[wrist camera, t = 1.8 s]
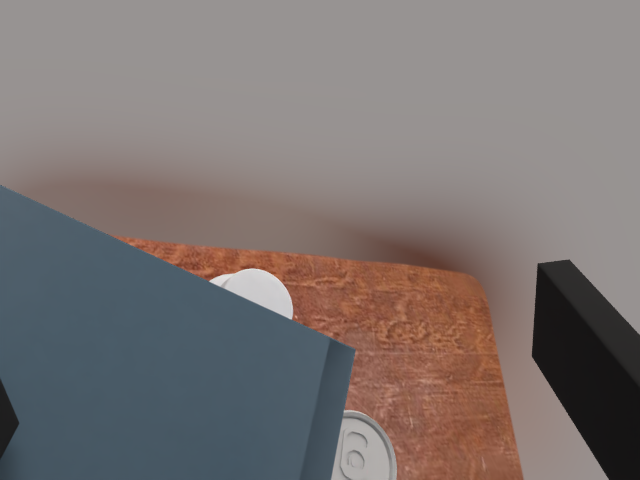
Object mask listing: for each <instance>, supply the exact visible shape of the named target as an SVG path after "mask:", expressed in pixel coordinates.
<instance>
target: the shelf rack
mask: <svg viewBox="0 0 640 480" xmlns="http://www.w3.org/2000/svg"><path fill="white" fill-rule="evenodd" d="M354 356H355V349H354V348H352V347H350V346H348V345H345V344H343V343H341V342H339V341H337V340H335V339H332V338H330V337H328V336H326V335H324V334H322V333H319V332H317V331H315V330H313V329H311V328H309V327H306V326H304V325H302V324H300V323H298V322H296V321H293V320H291V319H289V318H287V317H285V316H283V315H281V314H278V313H276V312H274V311H272V310H270V309H268V308H265V307H263V306H261V305H259V304H257V303H255V302H252V301H250V300H248V299H246V298H244V297H242V296H239V295H237V294H235V293H233V292H231V291H229V290H226V289H224V288H222V287H220V286H218V285H216V284H213V283H211V282H209V281H207V280H205V279H203V278H201V277H198V276H196V275H194V274H192V273H190V272H188V271H185V270H183V269H181V268H179V267H177V266H175V265H172V264H170V263H168V262H166V261H164V260H162V259H159V258H157V257H155V256H153V255H151V254H149V253H146V252H144V251H142V250H140V249H138V248H136V247H134V246H131V245H129V244H127V243H125V242H123V241H121V240H118V239H116V238H114V237H112V236H110V235H108V234H105V233H103V232H101V231H99V230H97V229H94V228H92V227H90V226H88V225H86V224H84V223H82V222H79V221H77V220H75V219H73V218H71V217H69V216H66V215H64V214H62V213H60V212H58V211H55V210H53V209H51V208H49V207H47V206H45V205H43V204H41V203H38V202H36V201H34V200H32V199H30V198H28V197H25V196H23V195H21V194H19V193H17V192H15V191H12V190H10V189H8V188H6V187H4V186H2V185H0V379H1V381H2V383H3V386H4V388H5V390H6V393H7V395H8V397H9V400H10V402H11V404H12V407H13V409H14V411H15V414H16V416H17V418H18V421H19V425H18V427H17V429H16V431H15V433H14V435H13V437H12V439H11V440H10V442H9V444H8V446H7V448H6V450H5V452H4V454H3V456H2V458H1V459H0V480H331V478H332V472H333V467H334V462H335V456H336V451H337V446H338V441H339V435H340V430H341V425H342V419H343V414H344V409H345V403H346V398H347V393H348V388H349V382H350V377H351V372H352V366H353V361H354Z"/></svg>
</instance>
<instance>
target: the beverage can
mask: <svg viewBox="0 0 640 480" xmlns="http://www.w3.org/2000/svg"><path fill="white" fill-rule="evenodd" d="M396 475H397V465H396V457H395V453H394V449H393V447H392V444H391V442H390V440H389V438H388V436H387V435H386V433H385V432H384V430H383V429H382V428H381V427H380V426H379V425H378V423H377V422H376V421H374V420H373V419H372V418H370V417H369V416H367V415H365V414H363V413H361V412H358V411H353V410H344V414H343V419H342V425H341V430H340V435H339V441H338V446H337V451H336V456H335V462H334V467H333V472H332V478H331V480H396Z"/></svg>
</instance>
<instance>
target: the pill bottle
mask: <svg viewBox="0 0 640 480" xmlns="http://www.w3.org/2000/svg"><path fill="white" fill-rule="evenodd" d="M209 282H211V283H213V284H216V285H218V286H220V287H222V288H224V289H226V290H229V291H231V292H233V293H235V294H237V295H239V296H242V297H244V298H246V299H248V300H250V301H252V302H255V303H257V304H259V305H261V306H263V307H265V308H268V309H270V310H272V311H274V312H276V313H278V314H281V315H283V316H285V317H287V318H289V319H291V320H292V316H293V306H292V301H291V298H290V295H289V293H288V291H287V289H286V288H285V286H284V285H283V284H282V283H281V282H280V281H279V280H278V279H277V278H276V277H275V276H273V275H272V274H270V273H268V272H266V271H263V270H259V269H245V270H242V271H239V272H237V273H236V274H226V275H221V276H218V277H216V278H214V279H212V280H210V281H209Z"/></svg>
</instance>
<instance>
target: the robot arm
mask: <svg viewBox="0 0 640 480" xmlns="http://www.w3.org/2000/svg"><path fill="white" fill-rule="evenodd" d="M537 268H538V269H537V284H536V298H535V314H534V330H533V346H532V357H533V359H534V360H535V362H536V363H537V365H538V367H539V368H540V370H541V372H542V373H543V375H544V376H545V378H546V380H547V381H548V383H549V384H550V386H551V388H552V389H553V391H554V392H555V394H556V396H557V397H558V399H559V400H560V402H561V403H562V405H563V407H564V408H565V410H566V412H567V413H568V415H569V416H570V418H571V420H572V421H573V423H574V424H575V426H576V428H577V429H578V431H579V432H580V434H581V435H582V437H583V439H584V440H585V442H586V444H587V445H588V447H589V448H590V450H591V451H592V453H593V455H594V456H595V458H596V459H597V461H598V463H599V464H600V466H601V468H602V469H603V471H604V472H605V474H606V476H607V477H608V478H609V480H640V335H639V334H638V333H637V332H636V331H635V330H634V329H633V328H632V326H631V325H630V324H629V323H628V322H627V321H626V320H625V319H624V318H623V317H622V316H621V315H620V314H619V313H618V311H617V310H616V309H615V308H614V307H613V306H612V305H611V304H610V303H609V302H608V301H607V300H606V298H605V297H603V295H602V294H601V293H600V292H599V291H598V290H597V289H596V288H595V287H594V286H593V285H592V283H591V282H590V281H589V280H588V279H587V278H586V277H585V276H584V275H583V274H582V273H581V272H580V271H579V270H578V268H577V267H576V266H575V265H574V264H573V263H572V262H571V261H570V260H562V261H554V262H546V263H538V267H537ZM18 425H19V421H18V418H17V416H16V414H15V411H14V409H13V407H12V404H11V402H10V400H9V397H8V395H7V393H6V390H5V388H4V386H3V383H2V381H1V379H0V459H1V458H2V456H3V454H4V452H5V450H6V448H7V446H8V444H9V442H10V440H11V439H12V437H13V435H14V433H15V431H16V429H17V427H18Z"/></svg>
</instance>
